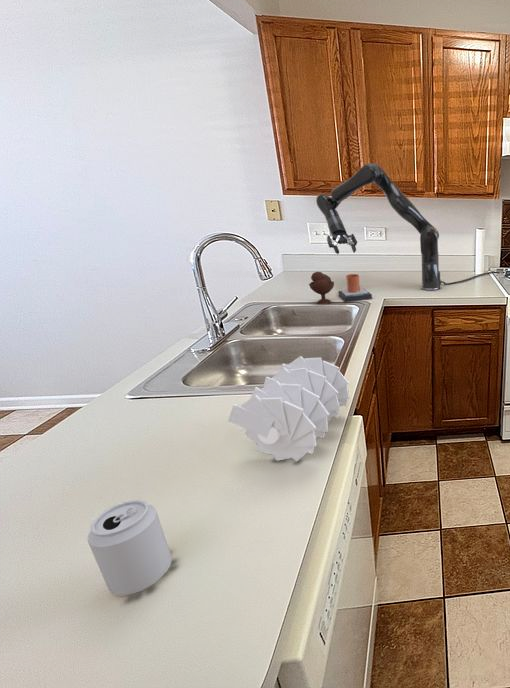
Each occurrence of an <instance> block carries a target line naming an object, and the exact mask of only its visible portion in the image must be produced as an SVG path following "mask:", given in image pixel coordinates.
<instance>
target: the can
mask: <svg viewBox="0 0 510 688" xmlns="http://www.w3.org/2000/svg"><path fill="white" fill-rule="evenodd" d="M89 527H90V531H89V533H88V535H87V544H88V546H89V548H90V550H91V553H92V555H93V557H94V559H95V562H96V564H97V566H98V568H99V571H100V573H101V575H102V577H103V581H104V582H105V584H106V587H107V589H108V591H109V592H110V593H111V594H112V595H114V596H121V597H122V596H129V595H134V594H137V593H141V592H143V591H144V590H147V589H149V588H150V587H151V586H153V585H155V584H156V583H157V582H158V581H159V580H160V579H161V578H162V577H163V576H164V575H165V574H166V573H167V571H168V570H169V569H170V567H171V565H172V561H173V556H172V553H171V550H170V547H169V545H168V544H169V543H168V541H167V538H166V535H165V531H164V529H163V526H162V524H161V521H160V518H159V515H158V512H157V509H156V507H155V506H153V505H152V504H149V503H148V502H147V501H145V500H143V499H131V500H126V501H122V502H120V503H117V504H115V505H113V506H111V507H109V508H107V509H105V510H104V511H103V512H101V513H100V514H99V515H97V517H95V518H94V519H93V520H92V523H91V524H90V526H89Z"/></svg>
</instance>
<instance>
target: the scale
mask: <svg viewBox="0 0 510 688" xmlns="http://www.w3.org/2000/svg"><path fill="white" fill-rule="evenodd" d="M337 292H338V293H337V294H338V296H339V298H341V300H342V301H344V303H350V302H357V301H365V300H371V299H372V298H373V297H372V293H371V292H369V291H368V290H367V289H366V288H364V287H360V291H359V292H355V293H351V292H348V290H347V288H346V289H340V290H338V291H337Z"/></svg>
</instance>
